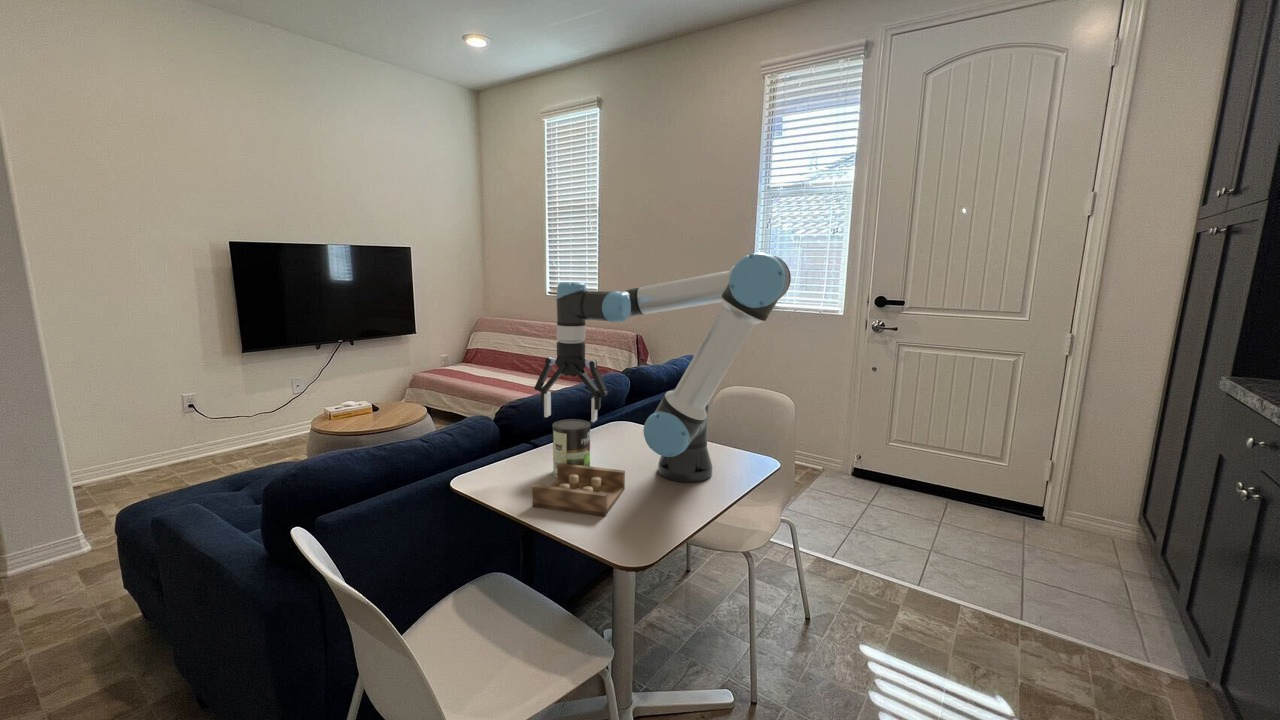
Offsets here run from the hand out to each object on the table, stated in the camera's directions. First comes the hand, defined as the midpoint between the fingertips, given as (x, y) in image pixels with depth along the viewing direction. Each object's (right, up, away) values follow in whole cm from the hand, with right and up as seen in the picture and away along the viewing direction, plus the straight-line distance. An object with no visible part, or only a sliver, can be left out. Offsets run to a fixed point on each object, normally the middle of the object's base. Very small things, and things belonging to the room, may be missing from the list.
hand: (570, 418), depth 141 cm
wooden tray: (+4, -18, -13) cm, 23 cm away
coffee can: (0, -16, +3) cm, 16 cm away
